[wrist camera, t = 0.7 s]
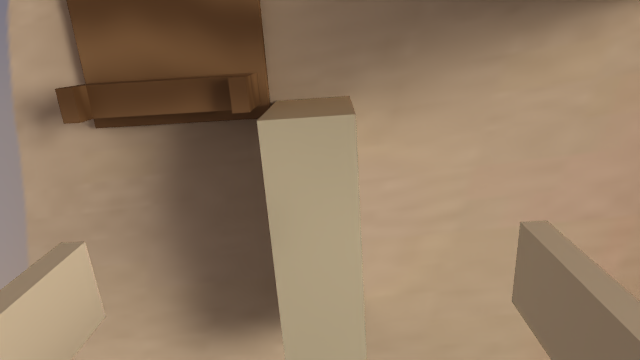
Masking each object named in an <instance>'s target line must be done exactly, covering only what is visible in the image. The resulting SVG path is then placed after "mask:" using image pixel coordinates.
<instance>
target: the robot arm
mask: <svg viewBox="0 0 640 360" xmlns="http://www.w3.org/2000/svg"><path fill="white" fill-rule="evenodd" d="M512 302H513V304H514V305H515V307H516V308H517V310H518V311H519V313H520V314H521V316H522V317H523V319H524V320H525V322H526V323H527V325H528V326H529V327H530V329H531V330H532V332H533V333H534V335H535V336H536V338H537V339H538V341H539V342H540V344H541V345H542V347H543V348H544V350H545V351H546V353H547V354H548V356H549V357H550V359H551V360H640V301H639V300H637V299H636V298H635V297H634V296H633V295H632V294H631V293H629V292H628V291H627V290H626V289H625V288H624V287H623V286H621V285H620V284H619V283H618V282H617V281H616V280H614V279H613V278H612V277H611V276H610V275H609V274H608V273H606V272H605V271H604V270H603V269H602V268H601V267H600V266H598V265H597V264H596V263H595V262H594V261H593V260H591V259H590V258H589V257H588V256H587V255H586V254H585V253H583V252H582V251H581V250H580V249H579V248H578V247H577V246H575V245H574V244H573V243H572V242H571V241H570V240H568V239H567V238H566V237H565V236H564V235H563V234H562V233H560V232H559V231H558V230H557V229H556V228H555V227H553V226H552V225H551V224H550V223H549V222H548V221H531V222H520V230H519V239H518V248H517V257H516V267H515V276H514V285H513V294H512ZM105 317H106V315H105V312H104V308H103V304H102V301H101V297H100V294H99V290H98V286H97V283H96V279H95V276H94V272H93V268H92V265H91V261H90V258H89V254H88V250H87V247H86V243H85V242H66V243H60V244H59V245H57V246H56V247H55V248H53V249H52V250H51V251H50V252H48V253H47V254H46V255H45V256H43V257H42V258H41V259H39V260H38V261H37V262H36V263H34V264H33V265H32V266H30V267H29V268H28V269H27V270H25V271H24V272H23V273H22V274H20V275H19V276H18V277H16V278H15V279H14V280H13V281H11V282H10V283H9V284H8V285H6V286H5V287H4V288H2V289H1V290H0V360H72V359H73V358H74V356H75V355H76V354H77V352H78V351H79V350H80V349H81V347H82V346H83V345H84V344H85V342H86V341H87V340H88V339H89V337H90V336H91V335H92V333H93V332H94V331H95V330H96V328H97V327H98V326H99V325H100V323H101V322H102V321H103V319H104V318H105Z"/></svg>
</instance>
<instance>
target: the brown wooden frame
mask: <svg viewBox="0 0 640 360" xmlns="http://www.w3.org/2000/svg"><path fill="white" fill-rule="evenodd" d="M67 4H68V9H69V13H70V17H71V22H72V26H73V30H74V35H75V39H76V44H77V48H78V52H79V57H80V61H81V65H82V70H83V74H84V78H85V83H86V84H83V85H77V86H71V87H64V88H58V89H55V91H56V95H57V99H58V103H59V107H60V111H61V114H62V118H63V122H64V124H66V123H81V122H84V121H87V120H91V119H94V122H95V126H96V128H107V127H124V126H140V125H157V124H174V123H190V122H207V121H224V120H241V119H257V118H260V117H261V116H262V115H263V114H264V113H265V112H266V111H267V110H268V109H269V108H270V98H269V88H268V78H267V68H266V58H265V48H264V38H263V28H262V18H261V8H260V0H67Z"/></svg>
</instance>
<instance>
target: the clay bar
mask: <svg viewBox="0 0 640 360" xmlns="http://www.w3.org/2000/svg"><path fill="white" fill-rule="evenodd" d="M257 127H258V135H259V144H260V152H261V161H262V169H263V178H264V186H265V194H266V203H267V211H268V220H269V228H270V237H271V245H272V254H273V262H274V271H275V279H276V288H277V296H278V305H279V313H280V322H281V330H282V339H283V347H284V356H285V360H367V352H366V330H365V308H364V285H363V263H362V241H361V219H360V196H359V174H358V152H357V130H356V113H355V111H354V108H353V105H352V102H351V99H350V96H342V97H328V98H313V99H299V100H284V101H276V102H275V103H274V104H273V105H272V106H271V107H270V108H269V109H268V110H267V111H266V112H265V113H264V114H263V115H262V116H261V117H260V118H259V119H258V120H257Z"/></svg>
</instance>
